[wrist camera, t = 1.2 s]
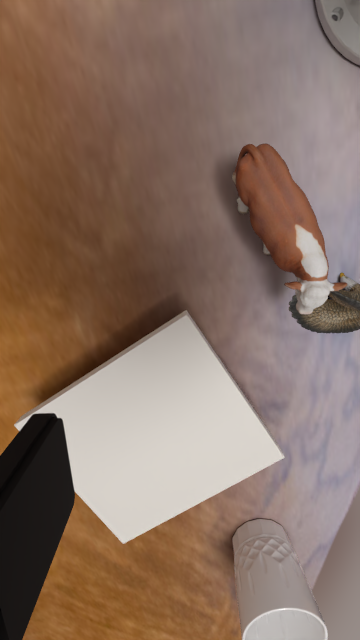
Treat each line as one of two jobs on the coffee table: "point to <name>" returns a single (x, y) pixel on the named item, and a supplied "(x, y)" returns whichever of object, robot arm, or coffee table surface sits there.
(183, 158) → the coffee table surface
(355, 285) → the eagle figurine
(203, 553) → the coffee table surface
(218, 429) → the display shelf
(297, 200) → the bull figurine
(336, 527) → the coffee table surface
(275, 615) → the white cup
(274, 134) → the coffee table surface
